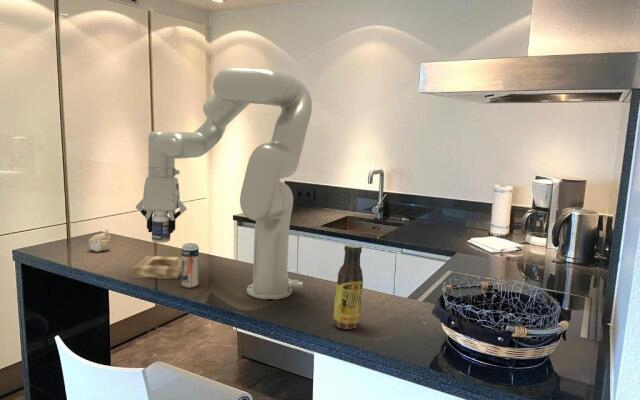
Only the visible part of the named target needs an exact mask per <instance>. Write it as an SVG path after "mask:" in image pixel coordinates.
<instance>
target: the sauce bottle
mask: <svg viewBox="0 0 640 400" xmlns="http://www.w3.org/2000/svg"><path fill="white" fill-rule="evenodd" d="M362 249H363V248H362V245H361V244H358V243H345V244H344V258H343V264H342V265H341V266H340V268H339V270H338V274H337V281H336V288H335V298H334V306H333V307H334V308H333V325H335V326H334V327H336V326H337V327H339V328H338V329H340V328H343V329H342V330H344V329H352V330H354V329H353V328H355V327H357V326H359V322H360V320H361V319H360V318H361V306H362V305H361V304H362V299H363V297H362V295H363V287H364V286H363V285H364V277H363V270H362V267H361V254H362V252H363V251H362ZM337 327H336V328H337ZM357 328H358V327H357ZM355 329H356V328H355Z"/></svg>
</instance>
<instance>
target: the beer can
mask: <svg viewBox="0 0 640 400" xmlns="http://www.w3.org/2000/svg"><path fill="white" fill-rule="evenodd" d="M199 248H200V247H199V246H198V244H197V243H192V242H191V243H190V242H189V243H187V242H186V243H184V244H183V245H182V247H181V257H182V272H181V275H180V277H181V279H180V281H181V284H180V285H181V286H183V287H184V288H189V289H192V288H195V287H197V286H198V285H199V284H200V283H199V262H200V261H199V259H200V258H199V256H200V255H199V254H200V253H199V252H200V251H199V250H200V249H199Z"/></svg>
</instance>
